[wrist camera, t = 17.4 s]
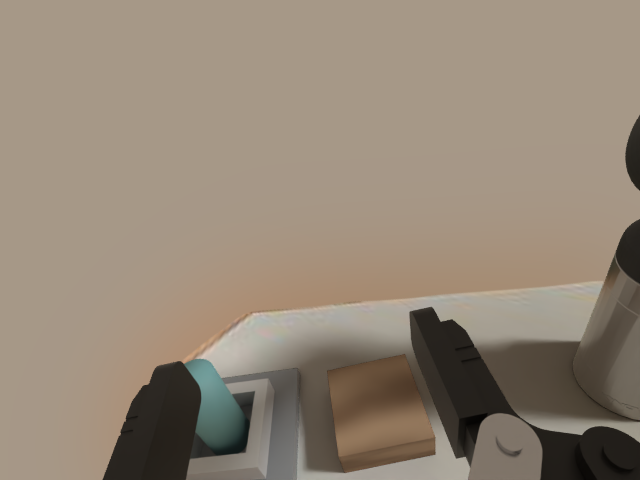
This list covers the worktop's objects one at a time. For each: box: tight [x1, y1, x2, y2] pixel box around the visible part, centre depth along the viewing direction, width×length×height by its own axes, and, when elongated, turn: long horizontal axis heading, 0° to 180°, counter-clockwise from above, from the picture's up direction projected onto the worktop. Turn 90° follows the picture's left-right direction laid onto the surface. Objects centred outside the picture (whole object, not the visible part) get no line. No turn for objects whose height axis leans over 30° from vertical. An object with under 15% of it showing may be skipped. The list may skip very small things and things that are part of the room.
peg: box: [184, 359, 250, 456], centre depth 37 cm, size 5×5×12 cm
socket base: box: [186, 368, 300, 480], centre depth 40 cm, size 16×16×4 cm
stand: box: [327, 354, 435, 473], centre depth 39 cm, size 10×10×4 cm
